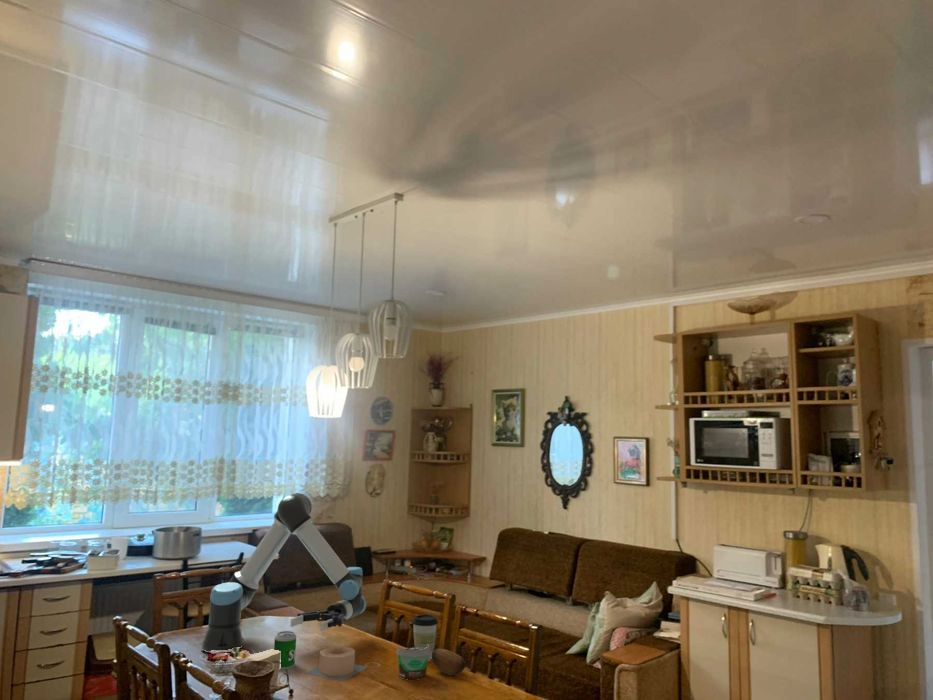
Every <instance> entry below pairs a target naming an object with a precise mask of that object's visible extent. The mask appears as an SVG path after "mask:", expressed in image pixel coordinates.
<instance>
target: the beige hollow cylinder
mask: <svg viewBox="0 0 933 700" xmlns="http://www.w3.org/2000/svg"><path fill="white" fill-rule="evenodd" d="M355 656H356V650H355V649H353V648H352V647H348V646H347V647H346V646H331V647H327V648H324V649H321V650H320V652H319V658H318V659H319V663H318V666H319V672H320V673H321V674H323V675H328V676H342V675H347V674H350V673H352V672H353V671H354V664H356V663H355V660H356V659H355V658H356V657H355Z"/></svg>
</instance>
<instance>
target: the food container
mask: <svg viewBox="0 0 933 700" xmlns="http://www.w3.org/2000/svg"><path fill="white" fill-rule="evenodd" d="M395 653H396V655H397V656H398V674H399V675H398V678H400V677H401V678H404V679H408V680H407V681H409V680H416V681H418V680H417V679H421V680H423V679H425V678H426V677H427V676H426V675H427V667H428V661H427V660H428V654H429V653H430V647H429V644H427V646H425V647H415V646H412V647H408V648H405V649H403V648H401V647H397V649H396V652H395ZM424 677H425V678H424ZM401 678H400V679H401ZM422 678H423V679H422ZM404 679H403V680H404Z"/></svg>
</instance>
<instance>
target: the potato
mask: <svg viewBox="0 0 933 700" xmlns="http://www.w3.org/2000/svg"><path fill="white" fill-rule="evenodd" d="M431 661H432V662H433V664H434V666H435V667H436V668H437V669H438V670H439V671H441V672H442V674H445V675H448V674H450V675H449V676H453V675H454V674H455V675H458V674H460V673H462V672H463V671H464V670H465V668H466V660H465V659H464V658H463V657H462V656H460V655H459V654H457V653H455V652H453V651H451V650H448V649H444V648H441V647H439V648H436V649H435V648H434V650H433V652H432V660H431ZM455 675H454V676H455Z"/></svg>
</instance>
